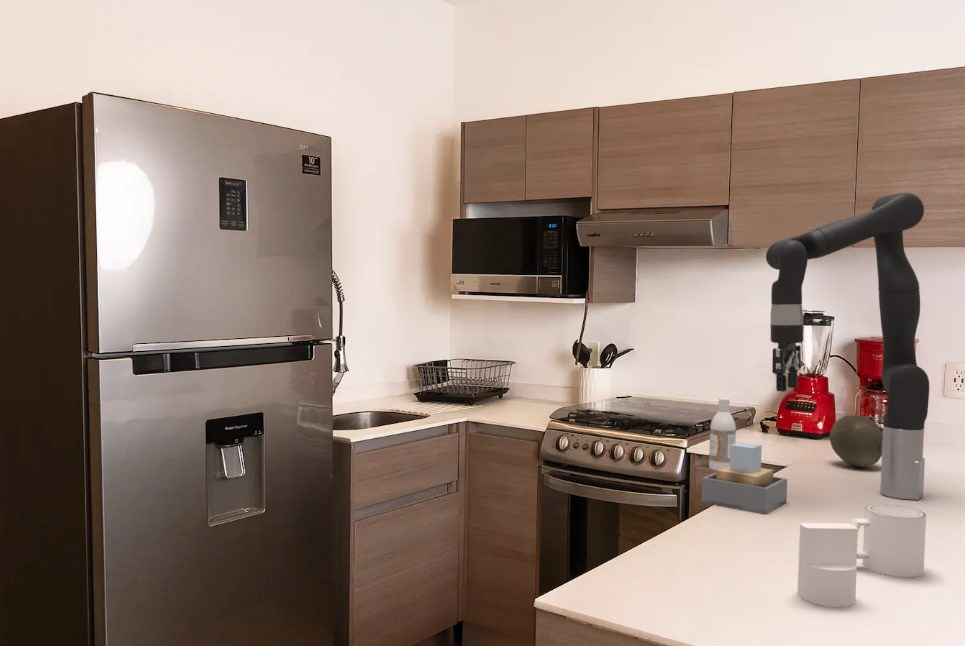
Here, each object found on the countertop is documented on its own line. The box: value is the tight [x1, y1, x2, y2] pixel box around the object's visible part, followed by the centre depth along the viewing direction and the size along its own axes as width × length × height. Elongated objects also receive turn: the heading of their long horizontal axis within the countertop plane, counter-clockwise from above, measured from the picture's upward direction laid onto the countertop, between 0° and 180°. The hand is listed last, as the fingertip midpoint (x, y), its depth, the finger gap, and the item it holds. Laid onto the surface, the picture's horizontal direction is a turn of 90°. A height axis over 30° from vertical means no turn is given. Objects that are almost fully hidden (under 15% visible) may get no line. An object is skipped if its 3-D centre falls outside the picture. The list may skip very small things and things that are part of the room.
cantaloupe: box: [829, 415, 883, 469], centre depth 245 cm, size 14×14×15 cm
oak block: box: [715, 465, 774, 488], centre depth 203 cm, size 10×10×7 cm
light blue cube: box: [730, 441, 763, 474], centre depth 202 cm, size 6×6×6 cm
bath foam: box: [708, 397, 737, 471], centre depth 239 cm, size 7×7×20 cm
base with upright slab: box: [797, 522, 859, 607], centre depth 141 cm, size 9×9×12 cm
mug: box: [850, 503, 927, 578], centre depth 157 cm, size 14×10×11 cm
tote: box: [700, 471, 788, 515], centre depth 203 cm, size 16×14×6 cm
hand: (787, 389), depth 207 cm, fingers open, 8 cm apart
